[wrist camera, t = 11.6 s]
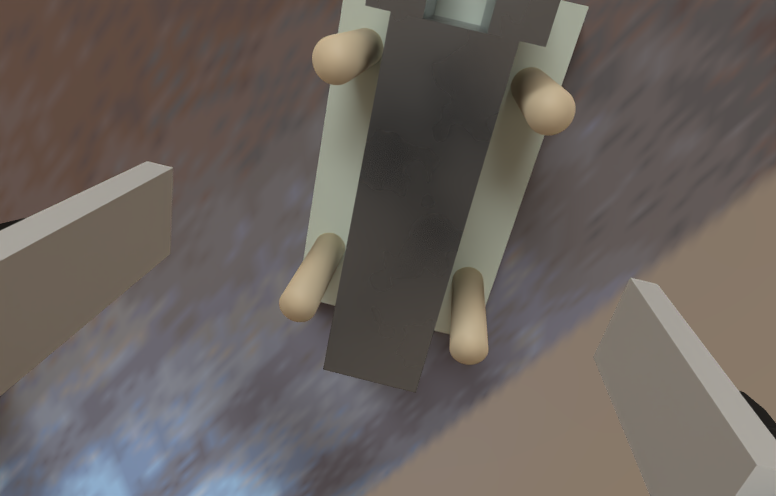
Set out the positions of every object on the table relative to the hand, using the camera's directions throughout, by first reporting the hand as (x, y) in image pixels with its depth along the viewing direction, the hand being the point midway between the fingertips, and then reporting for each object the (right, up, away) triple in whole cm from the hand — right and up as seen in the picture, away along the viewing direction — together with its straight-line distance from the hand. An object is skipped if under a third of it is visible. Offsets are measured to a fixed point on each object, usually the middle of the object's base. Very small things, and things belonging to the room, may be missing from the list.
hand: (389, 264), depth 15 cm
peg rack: (+2, +5, +12) cm, 13 cm away
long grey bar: (+2, +5, +10) cm, 11 cm away
